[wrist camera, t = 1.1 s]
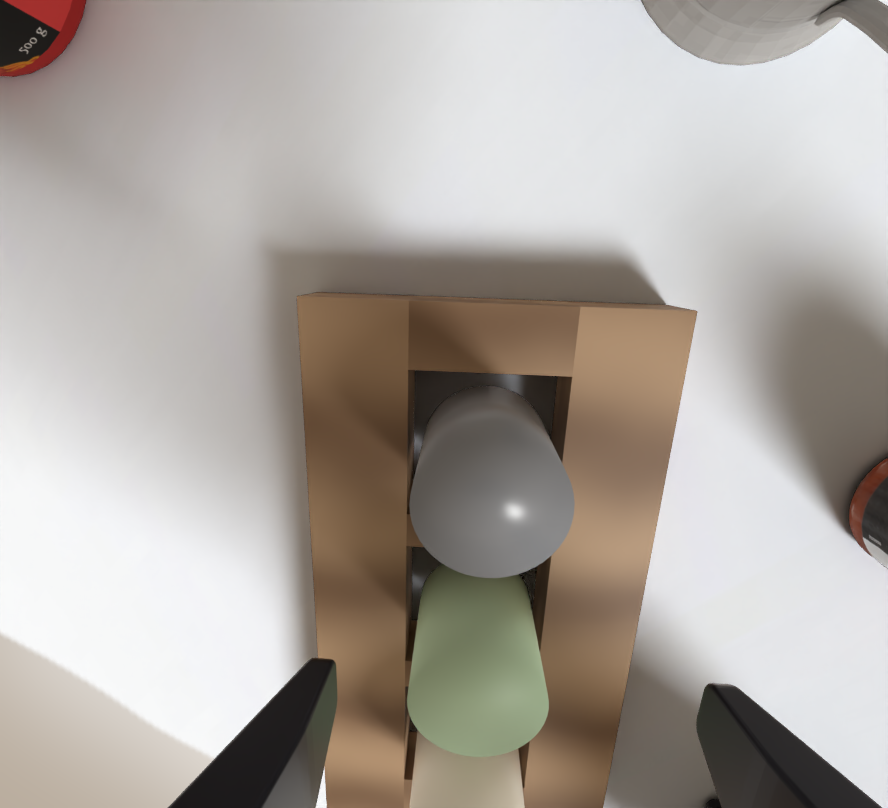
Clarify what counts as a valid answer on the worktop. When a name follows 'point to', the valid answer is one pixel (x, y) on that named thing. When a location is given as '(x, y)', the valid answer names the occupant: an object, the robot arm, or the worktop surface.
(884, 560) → the supplement bottle
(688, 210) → the worktop surface
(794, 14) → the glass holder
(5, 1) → the canned food
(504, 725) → the pale green cylinder
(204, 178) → the worktop surface
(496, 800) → the cream cylinder
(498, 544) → the grey short cylinder
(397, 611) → the wooden compartment tray
